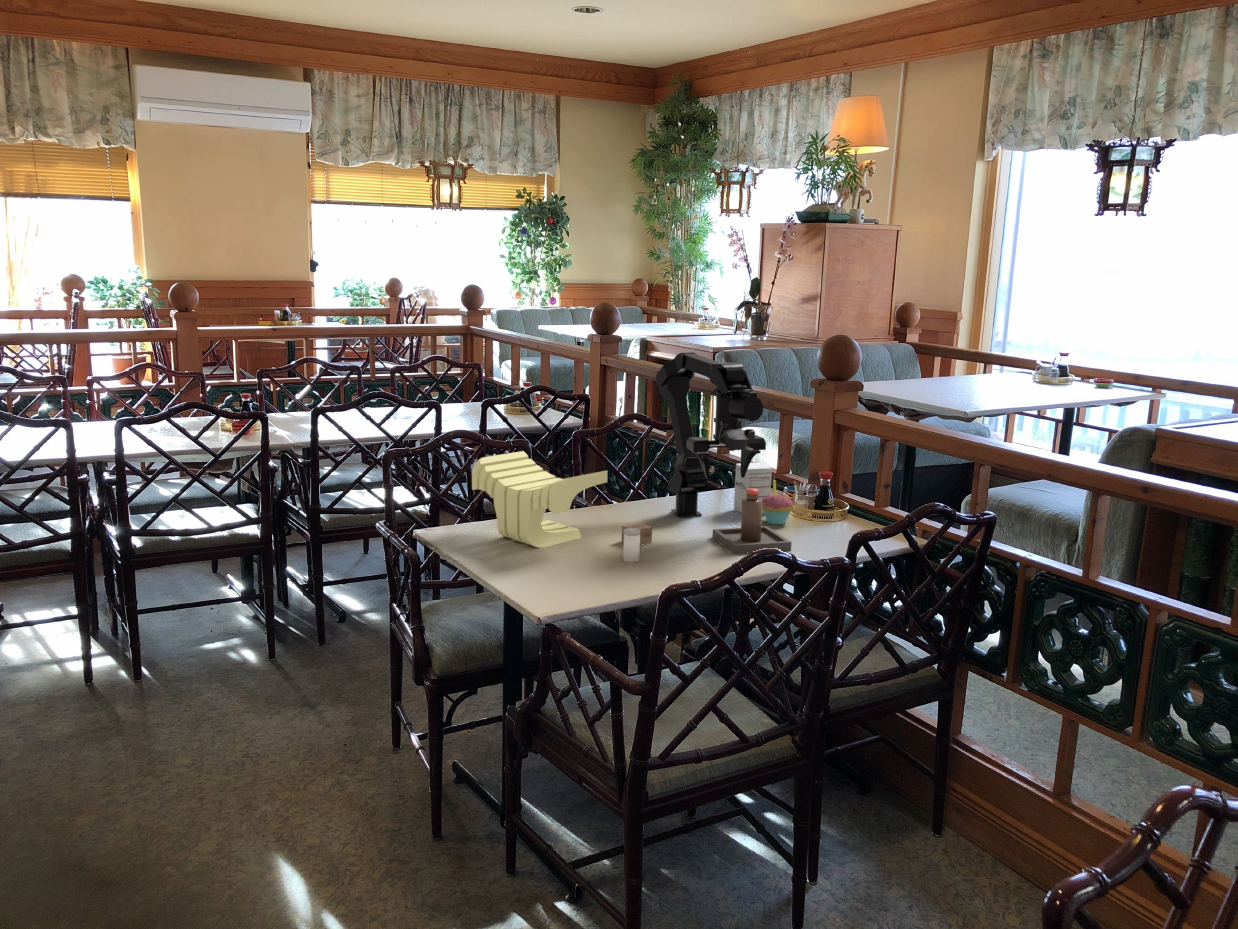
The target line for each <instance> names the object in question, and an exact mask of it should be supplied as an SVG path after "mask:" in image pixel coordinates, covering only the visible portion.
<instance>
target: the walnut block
mask: <svg viewBox="0 0 1238 929" xmlns="http://www.w3.org/2000/svg"><path fill="white" fill-rule="evenodd" d="M626 528H638V529H640V546H643V545H642V544H644V545H647V543H649V544H652V543H651V542H653V541H652V540H653V526H650V525H647V524H645V523H641V522H639V521H638V522H634V523H632V522H631V523H629V524H623V525H622V526H621V542H622V541H623V542H622V543H624V529H626Z"/></svg>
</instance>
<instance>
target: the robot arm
mask: <svg viewBox="0 0 1238 929" xmlns="http://www.w3.org/2000/svg"><path fill="white" fill-rule="evenodd" d="M695 373H696V374H698V375H701V376H703V377H706V378H707V379H709V382H710V383H711V384H712V385H714V386H715V388H714V389H713V390H712V391H711V394H712V395H713V396H716V397H715V398H716V399H715V417H713V423H715V425H714V426H715V428H714V434H712V439H707V438H706V437H703V436H694V431H693V426H692V421H691V416H690V411H689V410H690V409H689V405H688V400H687V398H688V394H689V392H690V389H691V380H692V379H693V378H694V377H695V375H696V374H695ZM655 382H656V385H657V390H658V392H659V394H660V395H661V396H662V398H663V399H664V400H665V401H666V403H667V405H668V411H669V416H670V421H671V426H672V430H673V431H672V432H673V436H674V440H675V441H674V443H675V447H676V451H677V457H676V460H675V463H674V466H673V471H674V474H673V475H672V476H671V478H670V480H668V482H667V486H668V491H669V492H671V493H673V494H675V508H674V509H670V510H671V511H672V512H671V513H672V514H674V515H675V514H676V515H677V516H676V515H675V516H676V517H678V518H688V517H689V518H690V517H702V515H703V514H702V513H701V512H700V511H698V503H699V502H698V498H699V492H706V488H707V485H708V481H709V479H710V458H711V453H710V452H709V450H710V449H715V448H716V449H721V448H723V449H724V448H726V449H727V450H728V451H731V452H735V451H740V463H741V470H740V471H741V477H742V478H744V477H745V474H746V472H747V469H748V467H749V464H750V463H752V461H753V459H754V457H755V456H756V455H757V454H761V452H762V451H765V450H766V449H767V441H766V439H765V438H764V437H762V436H759V435H757V434H756V431H755V429H753V428H750V429H749V428H747V429H743V427H742V420H745V421H749V422H755V421H758V420H759V419H760V418H761V417H762V415H763V413H764V405H763V402H762V400H761V399H760V398H759V397H758V392H756V391H754V390H753V387H752V386H753V384H752V383H751V382H750V379H749V376H748V374H747V371H746V369H745V367H744V365H743V364H742V363H741V362H719V361H718V360H715V359H714V360H713V359H711V358H708V357H706V356H702V355H699V354H697V353H695V352H692V351H691V352H690V351H689V352H680V353H677V354H676V355H675V357H674V358H672V359H671V360H670V361H668V362H666V363H665V364H664V365H662V367H660V368H659V370H658V371H657V373H656V375H655ZM740 419H741V420H740Z"/></svg>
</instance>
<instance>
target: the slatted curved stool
mask: <svg viewBox="0 0 1238 929" xmlns="http://www.w3.org/2000/svg"><path fill="white" fill-rule="evenodd" d="M606 483H608V470H601V471H597V472H591V473H586V474H582V475H577V476H572V477H570V476H569V477H567V478H561V477H556V475H553V474H552V473H549V472H548V471H546V470H544V469H543V468H542V467H541V466H540V465H536V462H535V461H534V460H533V459H532V458H529V455H528V454H527V453H526V452H525V451H524V450H522V451H521V450H520V451H516V452H510V453H509V452H508V453H503V454H497V455H495V454H494V455H489V456H483V457H480V458H479V459H478V460H477V461H476V462H475V463H474V465H473V467H472V471H471V489H472V491H475V490H480V491H482V492H486V494H488V495H489V497H490V498H491V499H493V505H494V510H495V515H496V523H497V524H496V525H497V532H498V533H499V535H501V536H502V537H505V538H508V539H511V540H514V541H516V542H520V543H524V544H526V545H529V546H532V547H535V548H539V549H541V548H546V547H547V548H548V547H550V546H554V545H557V544H561V543H562V544H563V543H566V542H571V541H574V540H575V541H576V540H579V539H581V538H582V535H581V533H580V530H579V528H576V527H572V526H569V525H566V524H563V523H560V522H557V523H556V521H553V520H549V519H547V520H543V517H544V516H545V513H546V511H547V510H548V511H549V512H551V513H552V514H561V513H565V512H570V510H571V505H572V502H573V501H574V500H575V497H577V495H578V494H580V493H581V492H582V491H584V490H587V489H589V488H591V487H592V488H593V487H595V486H597V485H602V484H606Z"/></svg>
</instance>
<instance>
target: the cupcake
mask: <svg viewBox="0 0 1238 929" xmlns="http://www.w3.org/2000/svg"><path fill="white" fill-rule="evenodd" d="M776 482H777V480H775V477H773V479H772V488H773V489H772V490H773V494H770V495H768V496H766V497H764V498H763V499H762V500H763V502H762V510H763V511H764V513H765V514H764V517H765V519H766V521H765V522H766V523H768V524H771V525H784V524H786V522H787V518H788V517H789V515H790V513H791V512H792V511H793V510H794V501H793V500H792V499H791V498H789V497H788V496H786V495H783V494H777V484H776Z"/></svg>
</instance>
